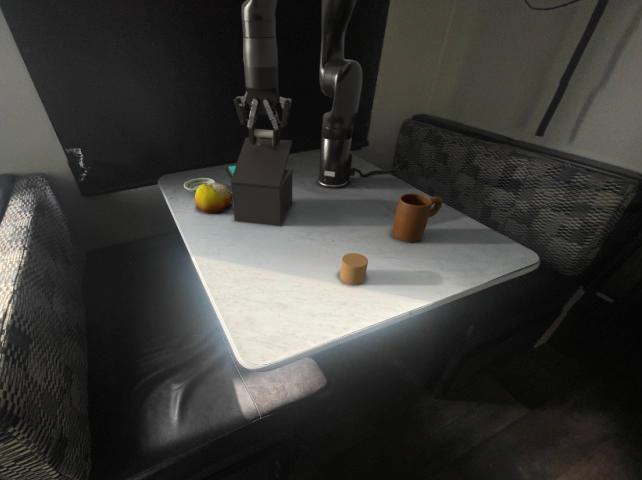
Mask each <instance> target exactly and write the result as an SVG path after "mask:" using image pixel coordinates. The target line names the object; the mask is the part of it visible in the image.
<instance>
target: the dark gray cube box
mask: <svg viewBox="0 0 642 480" xmlns="http://www.w3.org/2000/svg"><path fill="white" fill-rule="evenodd" d="M230 191H231V194H232V207H233V216H234V221H235V222H242V223H243V222H244V223H252V224H261V225H271V226H279V227H281V226H282V224H283V221H284V220H285V218H286V215H287V214H288V212H289V210H290V208H291V206H292V205H293V168H285V172H284V176H283V179H282V183H281V187H280V189H279V188H268V187H257V186H246V185H235V184H231V183H230Z"/></svg>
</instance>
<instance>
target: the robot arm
mask: <svg viewBox="0 0 642 480" xmlns="http://www.w3.org/2000/svg"><path fill="white" fill-rule="evenodd" d="M356 4H357V0H321V39H320V41H321V42H320V55H319V56H320V57H319V70H318V71H319V72H318V74H319V75H318V76H319V77H318V79H319V87H320V90H321V92H322V93H323V94H324V96H326V97H329V98H332V99H333V101H332V107H331V110H330V111H327V112H324V114H323V115H322V120H321V122H322V123H321V136H320V153H319V167H318V168H319V169H318V178H317V179H318V180H317V181H318V182H317V183H318V184H319V185H320V186H322V187H325V188H332V189H336V188H337V189H339V188H342V187H345V186H347V184H350V179H351V177H352V176H355V175H356V174H355V173H356V172H357V173H358V174H359V176H360V177H368V176H370V175H372V174H389V173H394V172H395V171H397V170H398V169H399V170H403V167H402V166H401V165H397V166H395V167H394V168H393V169H389V170H388V169H387V170H385V169H384V170H383V169H378V170H377V169H376V170H371V171H369V172H366V173H362V171H361V170H360V169H358V168H356V167H355V166H353V165H352V161H353V152H352V151H351V149H352V140H353V131H354V123H355V119H356V117H357V114H358V112H359V106H360V101H361V100H360V99H361V94H362V89H363V77H364V76H363V68H362V66H361V64H360V63H359V62H358V61H357V60H354V59H347V58H345V38H346V34H347V33H346V32H347V28H348V24H349V23H350V19H351V17H352V14H353V12H354V8H355V6H356ZM277 5H278V0H245V1H244V2H243V3H242V4H241V29H242V37H243V38H242V54H243V55H242V63H243V68H244V71H243V72H244V83H245V93H244V95H243V96H240V95H239V96H236V97H235V98H234V99H233V102H234V106H235V108H236V109H235V110H236V113H237V116H238V120H239V124H240V125H241V126H244V127H246V128H247V129H248V138H249V140H250V142H252V145H255V144H256V143H257V139H256V137H255V136H254V130H255V129H257V127H256V122H257V118H258V116H261V115H263V116H268V119H269V121H270V122H271V125H272V130H273V145H274V146H277V145H278V143H279V142H280V140H281V129H282V128H283V129H285V127H286V126H287V125H288V122H289V118H290V112H291V109H292V103H293V99H292V98H291V97H288V98H285V97H283V96H281V94H280V90H279V53H278V44H277V43H278V42H277V19H276V17H277V16H276V10H277ZM246 103H247V104H248V106H249V108H250V111H249V115H248V116H247V112H246V109H245V106H246ZM279 103H280V108H281V109H282V115H281V119H279V114H278V112H277V107H278V105H279Z"/></svg>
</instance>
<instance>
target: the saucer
mask: <svg viewBox="0 0 642 480" xmlns="http://www.w3.org/2000/svg"><path fill="white" fill-rule="evenodd" d="M209 183H216V180H214V179H213V178H208V177H198V178H192V179H189V180H187V181H185V182H184V183H183V188H184V189H185V190H187V191H188V192H191V193H193V194H195V193H196V190H197V189H198V187H199V186H200V185H202V184H209Z"/></svg>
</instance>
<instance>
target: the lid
mask: <svg viewBox="0 0 642 480" xmlns="http://www.w3.org/2000/svg"><path fill="white" fill-rule="evenodd" d="M273 130H274V129H259V128H256V129H255V130H254V136H255V137H256V139H257V143H256V144H255V145H252V142H250V140H249V137H245V138H244V141H243V144H242V147H241V150H240V153H239V156H238V159H237V161H236V165H235V166H236V167H235V170H234V173H233V176H232V175H231V179H230V185H231V184H235V185H246V186H257V187H268V188H279V189H280V187H281V183H282V179H283V176H284V172H285V169H287V164H288V160H289V157H290V153H291V149H292V146H293V140H288V139H280V142H279V143H278V145H277V146H274V145H273Z"/></svg>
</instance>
